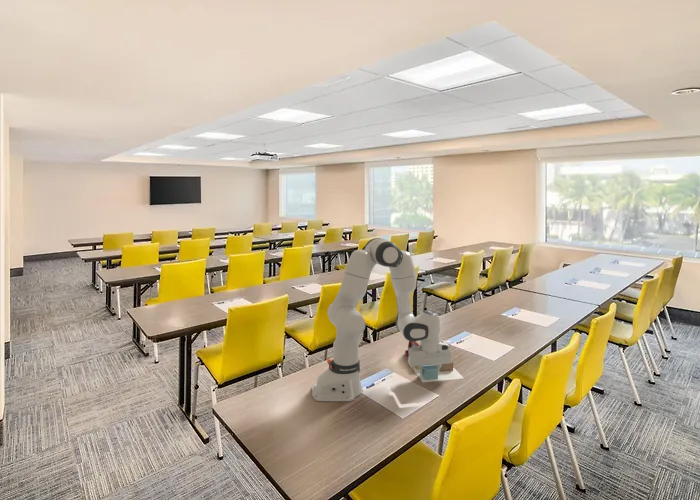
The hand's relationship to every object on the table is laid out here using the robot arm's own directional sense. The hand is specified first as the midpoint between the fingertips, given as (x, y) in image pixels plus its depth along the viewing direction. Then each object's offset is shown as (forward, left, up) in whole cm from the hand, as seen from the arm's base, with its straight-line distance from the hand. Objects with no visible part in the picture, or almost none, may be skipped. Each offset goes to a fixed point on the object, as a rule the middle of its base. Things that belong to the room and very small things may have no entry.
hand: (429, 372), depth 181 cm
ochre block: (-1, +10, -2) cm, 10 cm away
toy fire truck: (0, +22, -3) cm, 22 cm away
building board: (+5, +4, -3) cm, 7 cm away
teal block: (0, 0, -2) cm, 2 cm away
